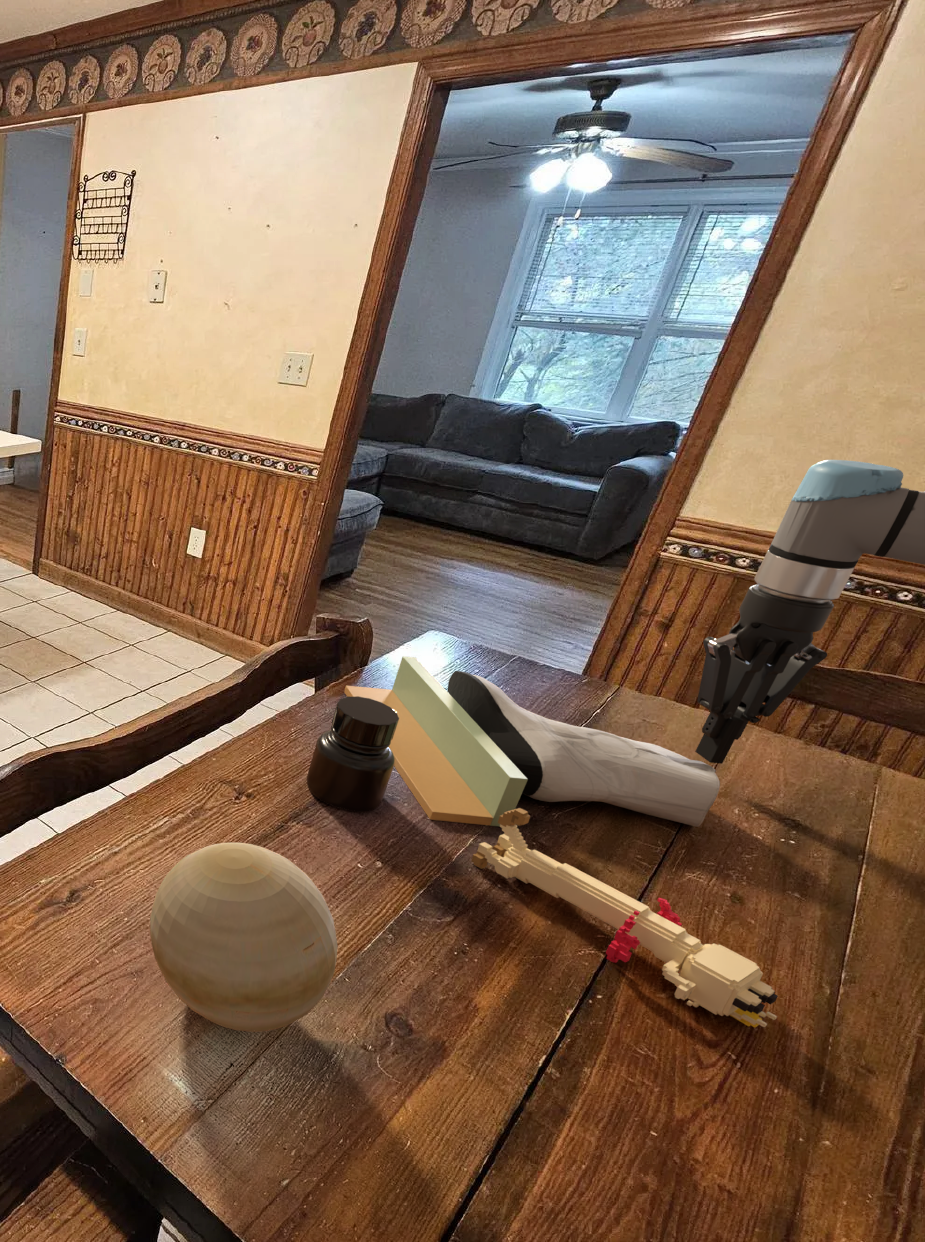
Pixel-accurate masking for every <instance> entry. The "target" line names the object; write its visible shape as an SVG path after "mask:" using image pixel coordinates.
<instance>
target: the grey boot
mask: <svg viewBox="0 0 925 1242" xmlns="http://www.w3.org/2000/svg"><path fill="white" fill-rule="evenodd" d="M447 692H448V693H449V694H450V695H451V696H452V697H453V698H454V700H455V701H456V702H457V703H458V704H459V705H460V706H461V707H462V708H463V709H464V710H465V711H466V713H467V714H468V715H469V716H470V717H471V718H472V719H473V720H474V721H475V722H476V723H477V725H478V726H479V727H480V728H481V729H482V730H483V731H484V732H485V733H486V734H487V735H488V736H489V738H490V739H491V740H492V741H493V742H494V743H495V744H496V745H497V746H498V747H499V748H500V750H501V751H502V752H503V753H504V754H505V755H506V756H507V757H508V758H509V759H510V760H511V761H512V763H513V764H514V765H515V766H516V767H517V768H518V769H519V770H520V771H521V772H522V773H523V775H524V776H525V777H526V778H527V779H528V780H527V782H526V785H525V787H524V789H523V792H522V795H525V796H527V797H529V798H531V799H534V800H536V801H541V802H549V803H558V802H602V803H604V804H609V805H613V806H615V807H619V808H623V809H626V810H629V811H630V810H631V811H633V812H637V813H640V814H644V815H648V816H653V817H657V818H660V819H664V820H667V821H672V822H676V823H679V824H680V823H681V824H684V825H688V826H693V827H696V828H699V827H700V826H701V825H702V824H703V823H704V820H705V818H706V816H707V814H708V813H709V811H710V809H711V808H712V806H713V805H714V803H715V801H716V799H717V797H718V794H719V792H720V786H721V781H720V779H719V777H718V775H717V773H716V771H717V770H716V769H715V768H714V767H713V766H712V765H709V764H707V763H705V762H703V761H702V760H701V761H700V760H697V759H690V758H688V757H686V756H684V755H681V754H679V753H678V752H675V751H672V750H670V749H667V748H665V747H663V746H660V745H657V744H654V743H651V742H645V741H638V740H634V739H630V738H627V737H622V736H619V735H617V734H614V733H612V732H611V733H610V732H607V731H604V730H601V729H595V728H590V727H585V726H577V725H572V724H569V723H566V722H562V721H557V720H553V719H549V718H548V717H545V716H542V715H540V714H537V713H534V712H532V711H530V710H528V709H525V708H523V707H521V706H520V705H518V704H517V703H516V702H514V701H513V700H512V699H511V698H510V697H509V696H508V694H506V693H505V692H504V691H503V690H502V689H501V688H500V687H498V685H496V684H494V683H493V682H491V681H489V680H488V679H486V678H485V677H482V676H480V675H477V674H472V673H470V672H467V671H461V670H454V671H453V672H452V673H451V675H450V677H449V679H448V683H447Z"/></svg>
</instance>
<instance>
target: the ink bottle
mask: <svg viewBox="0 0 925 1242" xmlns="http://www.w3.org/2000/svg"><path fill="white" fill-rule="evenodd" d="M398 721H399V717H398V714H397V712H395V711H394V710H393V709H392V708H391V707H389V706H387V705H385V704H383V703H382V702H379V701H376V700H373V699H370V698H364V697H359V696H356V697H349V696H348V697H347V696H345V697H341V698H340V699H339V700H338V701H337V702H336V706H335V710H334V712H333V717H332V719H331V725H330V729H328V730H326V731H324V732H323V733H321V734H320V735H319V737H318V738H317V741H316V743H315V747H314V751H313V753H312V757H311V761H310V764H309V768H308V771H307V775H306V784H307V788H308V789H309V791H310V792H311V794H312V795H313V796H315V797H316V798H317V799H318V800H319V801H321V802H323V803H325V804H327V805H329V806H332V807H335V808H337V809H341V810H345V811H350V812H354V813H368V812H372V811H374V810H376V809H378V808H379V807H380V806H381V805H382V802H383V799H384V796H385V794H386V790H387V788H388V784H389V782H390V778H391V776H392V772H393V769H394V768H395V767H394V763H395V758H394V755H393V752H392V751H391V749H390V748H389V746H390V744H391V740H392V739H393V736H394V733H395V730H396V727H397V724H398Z"/></svg>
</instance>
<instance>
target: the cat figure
mask: <svg viewBox="0 0 925 1242" xmlns="http://www.w3.org/2000/svg"><path fill="white" fill-rule="evenodd" d="M530 818H531V815H529V811H527V810H526V809H524V808H521V807H518V808H515V809H514V810H510V811H507V812H504V814H503V815H501V816H500V817H499V820H498V823H499V824H500V826H499V828H501V831H502V832H503V833H502V834H500V835H499V836H498V839H497V842H496V844H495V845H490V844H489V843H487V842H485V841H483V842H481V843H478V847H477V850H476V852H475V853H473V854H472V857H471V860H470V861H471V863H473V866H475V867H477V868H479V869H480V870H483V869H485V868H487V866H488V864H490V865H492V866H494V868H493V869H494V870H495V872H496V873H497V875H500V876H502V877H504V878H505V879H513V878H516V879H518V880H519V881H521V882H523V883H525V884H531V885H533V886H535V887H536V888H538V889H540V890H542V891H544V892H545V893H547V894H549V895H551V896H552V897H554V898H556V899H560V898H561V899H563V900H565V901H567V902H568V903H570V904H572V905H573V906H575V907H577V908H579V909H581V910H582V911H584V912H586V913H587V914H590V915H592V916H593V917H595V918H597V919H598V920H600V921H602V922H604V923H605V924H607V925H609V926H611V927H612V928H615V929H616V932H615V935H614V938H613V940H611V942H610V944H608V946H607V947H606V948H607V949H606V951H605V954H606V960H608V961H610V962H612V963H614V964H617V963H618V962H619V960H620V961H622V962H623V963H627V962H629V961H630V959H631V958H632V957H631V956H632V955H633V952H631V949H633V950H636V949H637V948H638V946H641V947H643V948H644V949H647V950H648V951H650V952H652V954H653V956H654V957H655V958H657V959H658V960H661V961H662V962H663V963H664V964H663V966H662V968H661V971H662V973H661V975H662V976H664V977H663V978H664V979H665V980H667V981H669V982H670V983H672V984H674V986H676V989H675V991H674V993H673V994H674V998H675V999H676V1000H677V999H678V1000H680V999H681V1000H682V1001H685V1000H688V1001H686V1005H687V1006H689V1007H691V1006H692V1007H694V1008H698V1007H699V1006H700V1007H702V1008H704V1009H705V1010H707V1011H709V1012H710V1013H711V1014H714V1015H715V1016H716V1015H718V1016H721V1017H724V1016H726V1017H729V1016H730V1017H731V1018H733V1019H735V1020H736V1021H738V1022H740V1023H742V1024H744V1025H745V1026H747V1027H753V1028H754V1029H755V1028H757V1027H758V1026H760V1027H762V1028H766V1027H767V1026H768V1022H765V1021H764V1020H763V1018H766V1017H767V1018H770V1019H771V1020H773V1021H775V1020H776V1019H777V1018H778V1016H777V1015H775V1014H773V1013H772V1012H771V1011H769V1010H768V1011H767V1012H765V1011H763V1010H764V1008H765V1006H766V1005H765V1003H766V1004H768V1005H772V1004H774V1003H775V1002H776V1001H777V999H778V997H779V996H778V995H777V994H775V993H776V990H775V989H773V986H770V985H769V984H767V983H765V982H763V981H762V980H761V979H762V977H763V975H764V973H763V971H761V968H760V966H758V963H757V962H754V961H752V960H750V959H749V958H747V957H745V956H744V955H741V954H740V953H737V952H736V951H733V950H732V949H730V948H728V947H726V946H723V945H722V944H720V943H719V944H716V943H712V944H710V943H704V944H703V943H702V942H701V939H699V938H697V937H695V936H693V935H691V934H689V933H688V932H687V930H686V928H684V927H682V926H683V923H682V922H681V917H680V916H679V914H677V913H675V912H674V911H673V909H672V908H671V907H672V906H671V903H670V902H669V900H667V899H666V898H662V897H658V898H657V900H656V901H657V902H658V903H659V905H658V906H659V907H660V908H659V909H660V910H659V911H657V912H656V913H655V912H654V911H652V910H651V908H650V906H648V905H646V904H645V903H643V902H640V901H639V900H637V899H635V898H633V897H631V896H629V895H627V894H626V893H623V892H621V891H619V890H617V889H616V888H614V887H612V886H610V885H608V884H607V883H604V882H602V881H601V880H599V879H597V878H595V877H593V876H591V875H589V874H588V873H585V872H583V871H581V870H580V869H578V868H576V867H575V866H572V865H570V864H568V863H566V862H564V863H561V862H559V861H557V860H555V859H554V858H551V857H550V856H549V855H546V854H544V853H542V852H540V851H539V850H537V849H529V848H528V846H529V845H528V844H527V843H526V842H527V841H526V840H524V836H522V832H520V829H519V828H518V826H519V827H521V826H525V825H527V824H529V822H530ZM678 972H679V973H678Z"/></svg>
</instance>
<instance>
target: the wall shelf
mask: <svg viewBox="0 0 925 1242" xmlns="http://www.w3.org/2000/svg"><path fill="white" fill-rule="evenodd" d="M343 692H344V694H345V697H348V696H349V697H356V696H359V697H364V698H370V699H373V700H376V701H379V702H382V703H383V704H385V705H387V706H389V707H391V708H392V709H393V710H394V711H395V712H397V714H398V717H399V721H398V724H397V727H396V730H395V733H394V736H393V739H392V740H391V744H390V746H389V748H390V749H391V751H392V752H393V755H394V758H395V763H394V767H393V768H394V769H395V770H396V771H397V773H398V775H399V776H400V777H401V779H402V781H403V782H404V784H405V785H406V786H407V788H408V789H409V790H410V792H411V793H412V795H413V797H414V799H416V801H417V802H418V804H419V806H420V807H421V808H422V810H423V811H424V813H425V814H426V817H428V819H429V820H431V821H440V822H450V823H460V824H461V823H462V824H472V825H481V826H491V827H500V824H499V823H498V820H499V817H500V816H501V815H503V814H504V812H507V811H510V810H514V809H517V806H518V804H519V801H520V799H521V796H522V795H523V793H522V792H523V789H524V787H525V785H526V782H527V780H528V779H527V778H526V777H525V776H524V775H523V773H522V772H521V771H520V770H519V769H518V768H517V767H516V766H515V765H514V764H513V763H512V761H511V760H510V759H509V758H508V757H507V756H506V755H505V754H504V753H503V752H502V751H501V750H500V748H499V747H498V746H497V745H496V744H495V743H494V742H493V741H492V740H491V739H490V738H489V736H488V735H487V734H486V733H485V732H484V731H483V730H482V729H481V728H480V727H479V726H478V725H477V723H476V722H475V721H474V720H473V719H472V718H471V717H470V716H469V715H468V714H467V713H466V711H465V710H464V709H463V708H462V707H461V706H460V705H459V704H458V703H457V702H456V701H455V700H454V698H453V697H452V696H451V695H450V694H449V693H448V690H446V689H445V688H444V686H443V685H442V684H441V683H440V682H439V681H438V679H436V678H435V676H434V675H432V673H431V672H430V670H428V669H427V668H426V666H424V665H423V663H422V662H421V661H420V660H419V659H418V658H417V657H416V656H415V657H414V656H402V657H401V660H400V663H399V666H398V669H397V673H396V676H395V679H394V682H393V685H392V689H389V688H380V687H379V688H378V687H368V686H367V687H365V686H355V685H345V688H344V690H343Z"/></svg>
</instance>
